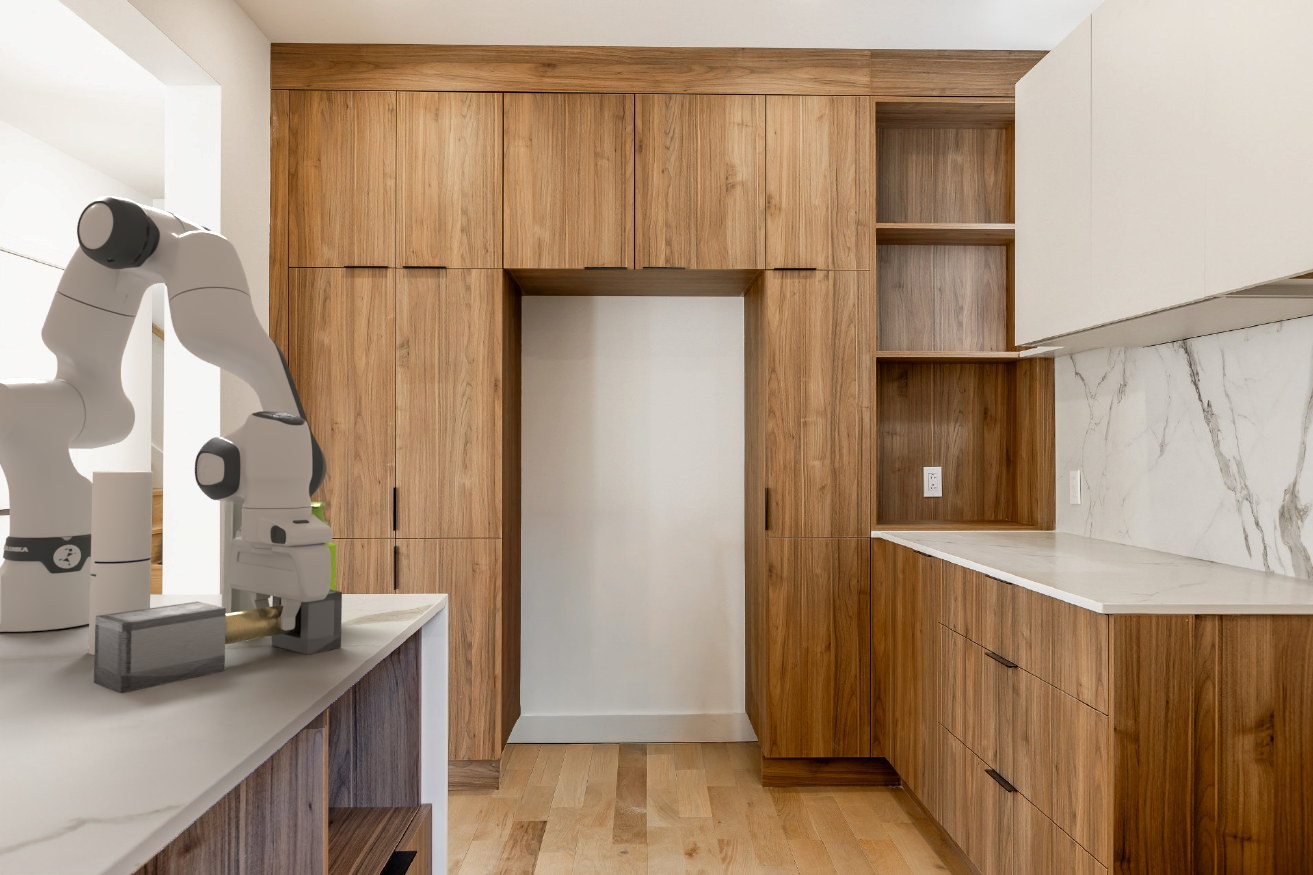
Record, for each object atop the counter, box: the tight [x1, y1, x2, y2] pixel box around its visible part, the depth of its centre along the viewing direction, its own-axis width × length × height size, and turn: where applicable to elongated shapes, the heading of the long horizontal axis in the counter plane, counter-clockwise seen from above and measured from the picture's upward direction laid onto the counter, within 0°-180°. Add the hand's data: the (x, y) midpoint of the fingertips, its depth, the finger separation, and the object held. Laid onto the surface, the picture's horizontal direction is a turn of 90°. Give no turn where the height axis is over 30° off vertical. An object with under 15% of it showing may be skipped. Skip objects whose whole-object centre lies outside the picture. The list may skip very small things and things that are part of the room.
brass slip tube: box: [225, 605, 301, 646], centre depth 111 cm, size 16×5×5 cm, turn 145°
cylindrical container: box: [88, 470, 154, 656], centre depth 115 cm, size 7×7×25 cm
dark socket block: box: [271, 589, 343, 655], centre depth 118 cm, size 5×9×8 cm, turn 55°
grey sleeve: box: [93, 601, 226, 694], centre depth 101 cm, size 12×7×8 cm, turn 145°
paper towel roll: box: [221, 501, 254, 614], centre depth 127 cm, size 7×6×21 cm
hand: (275, 626), depth 114 cm, fingers closed on brass slip tube, 4 cm apart
